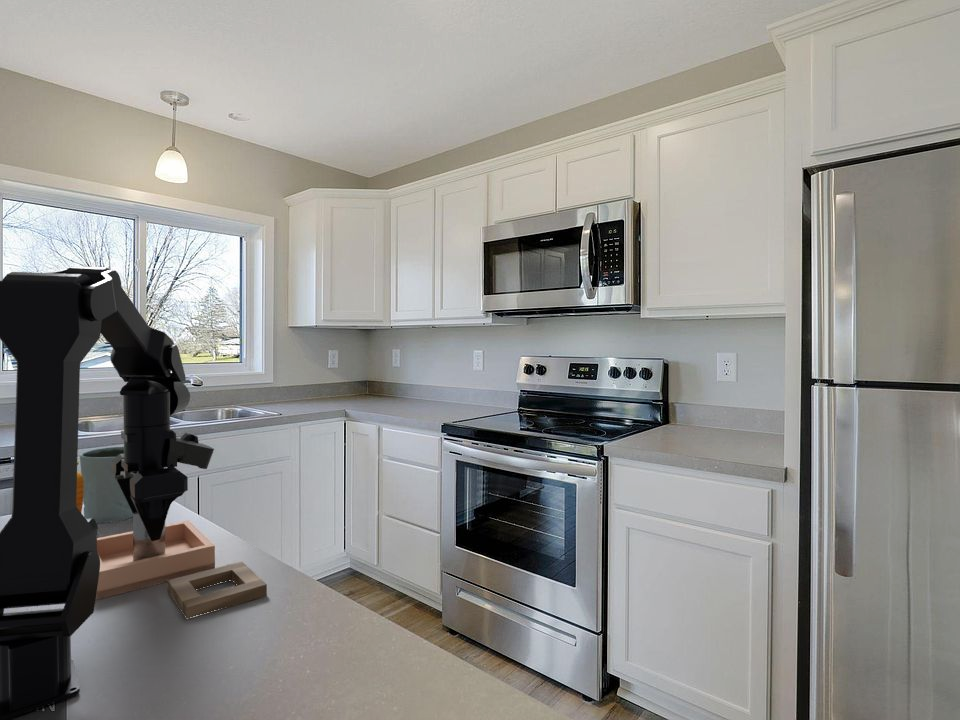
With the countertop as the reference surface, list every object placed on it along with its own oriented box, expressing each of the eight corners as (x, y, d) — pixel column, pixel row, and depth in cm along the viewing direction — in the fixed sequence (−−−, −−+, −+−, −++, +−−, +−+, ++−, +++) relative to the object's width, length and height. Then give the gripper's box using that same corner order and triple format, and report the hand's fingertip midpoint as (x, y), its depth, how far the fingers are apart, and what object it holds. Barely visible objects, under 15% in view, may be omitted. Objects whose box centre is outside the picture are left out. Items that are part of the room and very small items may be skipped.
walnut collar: (266, 595, 70) (266, 584, 70) (186, 619, 64) (186, 607, 64) (242, 571, 77) (242, 561, 77) (167, 591, 71) (167, 580, 71)
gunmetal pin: (168, 560, 78) (168, 513, 78) (135, 568, 76) (135, 518, 76) (161, 552, 81) (161, 506, 81) (130, 559, 79) (130, 511, 78)
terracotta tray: (214, 569, 78) (214, 545, 78) (96, 599, 69) (96, 572, 69) (188, 541, 89) (188, 520, 88) (83, 564, 79) (83, 540, 79)
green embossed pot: (74, 515, 101) (73, 451, 100) (136, 503, 108) (136, 443, 108) (88, 528, 94) (87, 460, 93) (153, 515, 101) (153, 451, 101)
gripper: (227, 427, 76) (227, 536, 77) (191, 412, 90) (191, 504, 91) (134, 435, 69) (136, 556, 69) (111, 418, 83) (112, 519, 83)
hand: (148, 531), depth 78 cm, fingers open, 9 cm apart
